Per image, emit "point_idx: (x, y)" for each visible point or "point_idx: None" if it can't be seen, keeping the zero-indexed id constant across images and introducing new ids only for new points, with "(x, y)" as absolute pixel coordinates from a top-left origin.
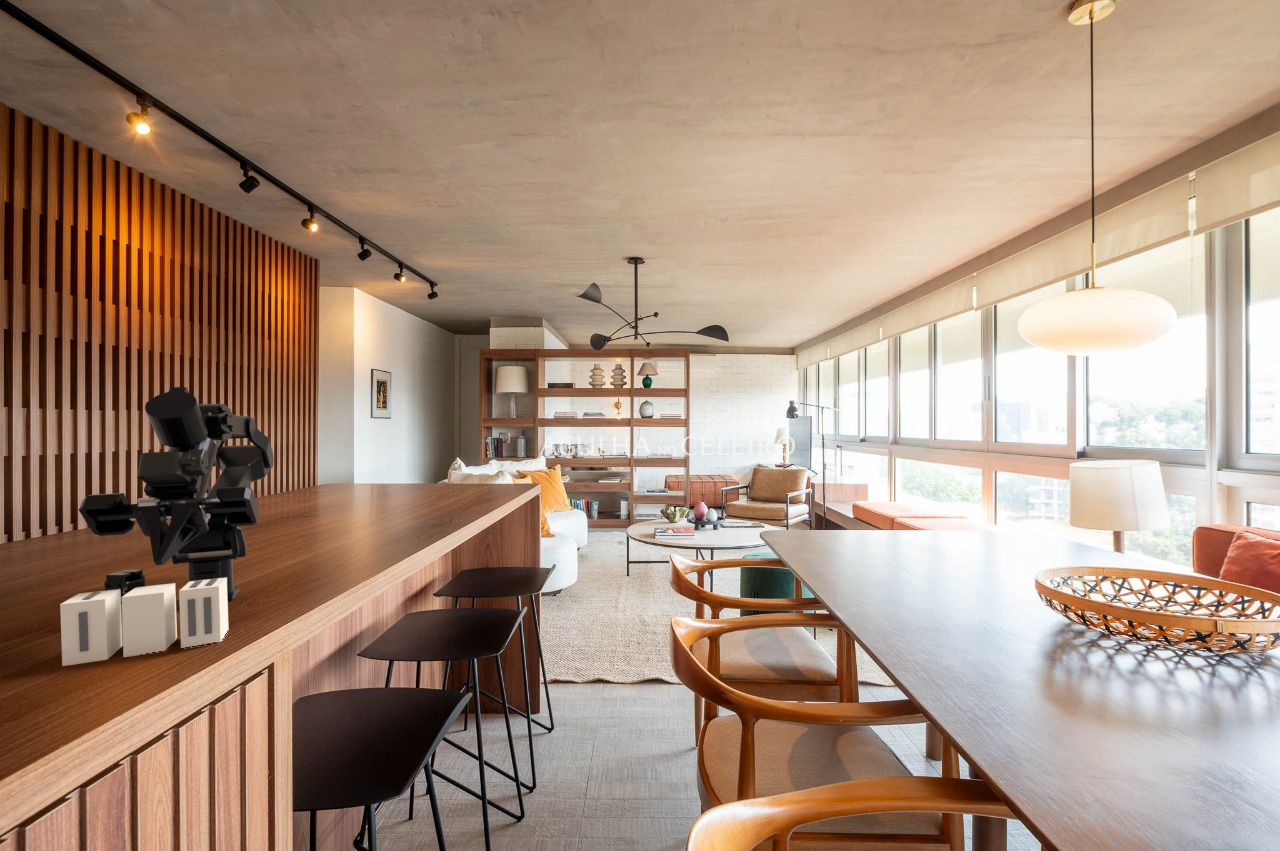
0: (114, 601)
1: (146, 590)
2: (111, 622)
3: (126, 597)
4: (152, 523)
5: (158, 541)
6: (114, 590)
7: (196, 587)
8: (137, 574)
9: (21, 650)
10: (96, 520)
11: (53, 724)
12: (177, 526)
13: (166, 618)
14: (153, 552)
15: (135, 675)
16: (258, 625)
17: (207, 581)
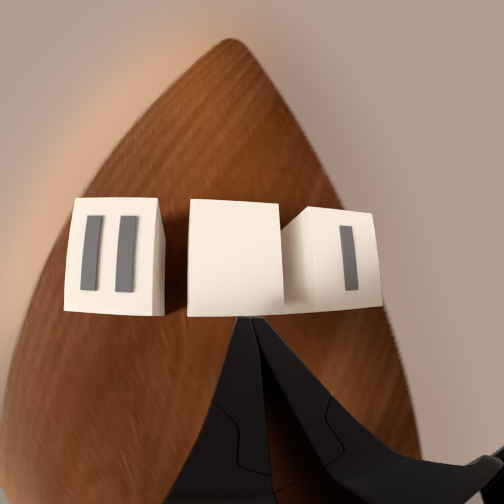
0: (304, 270)
1: (242, 252)
2: (286, 255)
3: (268, 203)
4: (369, 461)
5: (282, 378)
6: (323, 299)
7: (121, 214)
8: None
9: (391, 353)
10: (501, 460)
11: (241, 71)
12: (212, 455)
13: (188, 236)
14: (278, 338)
15: (203, 148)
16: (65, 320)
17: (102, 282)
